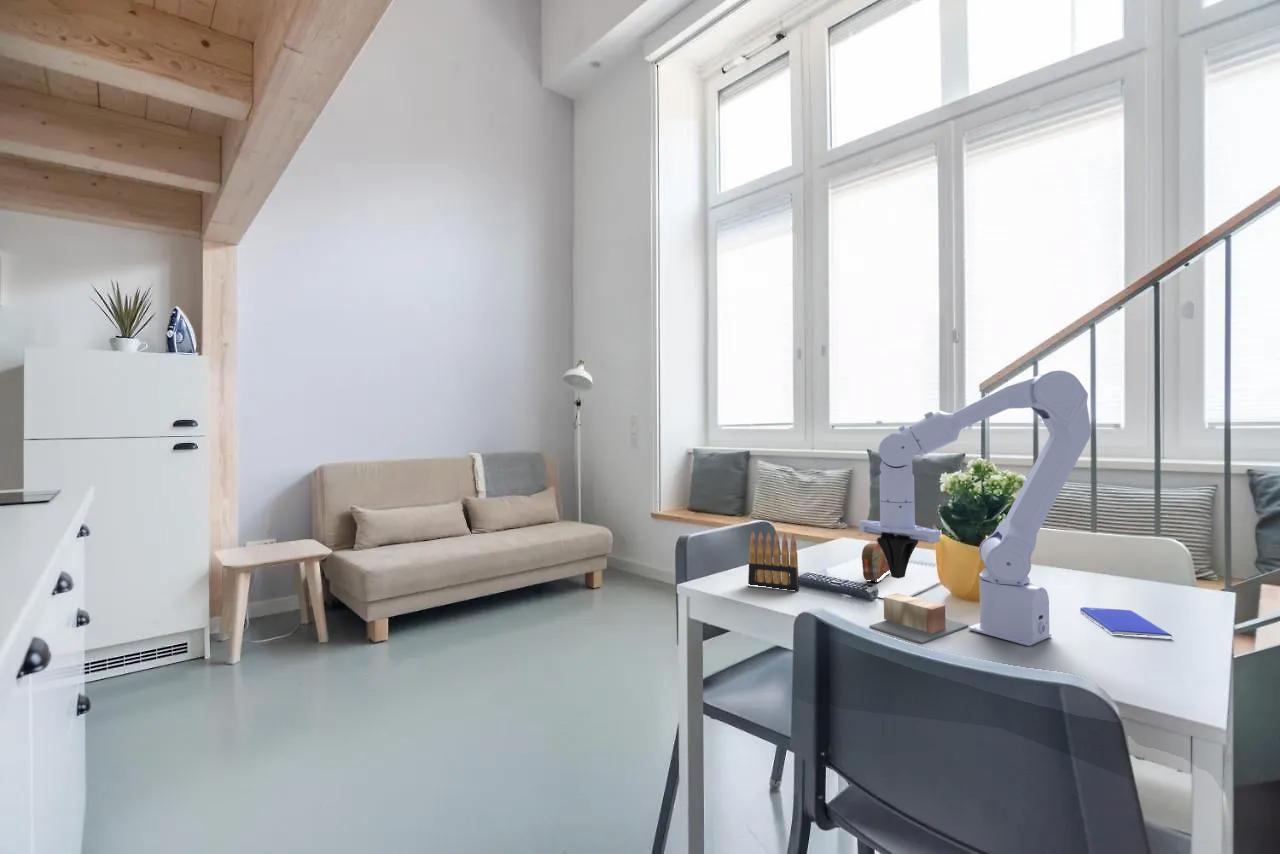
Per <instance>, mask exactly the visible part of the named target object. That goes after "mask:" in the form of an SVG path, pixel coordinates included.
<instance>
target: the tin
mask: <svg viewBox="0 0 1280 854" xmlns="http://www.w3.org/2000/svg"><path fill="white" fill-rule="evenodd" d="M861 561H862V562H861V564H862V574H863V578H864V580H865V579H866V580H871V581H876V582H875V583H877V579H879V578H880V577H881V576H882V575H883V574H884V573H886V572H887V571H889V570H890V569H889V565H888V562H887V559H886V557H885V554H884V552H883V550H882V548H881V547H880V545H879V544H878V542H877V538H876V539H874V540H872V541H870V542H869V543H867V544H865V545H864V547H863V548H862V552H861ZM866 580H865V581H866Z"/></svg>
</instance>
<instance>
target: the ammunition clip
mask: <svg viewBox="0 0 1280 854" xmlns="http://www.w3.org/2000/svg"><path fill="white" fill-rule="evenodd" d="M749 539H750V540H749V551H748V555H749V556H748V557H749V558H748V559H749V560H748V579H747V580H748V583H747V585H748V584H750V585H758V586H766V587H772V588H779V589H787V590H795V591H797V592H799V590H800V583H799V578H800V577H799V566H798V551H797V540H796V535H795V534H794V533H793V534H792V535H791V539H790V549H789V546H788V545H789V541H788V537H787V534H786V533H784V534H783V536H782V541H781V546H782V547H781V546H780V539H779V534H778V533H777V532H775V535H774V538H773V547H772V537H771V534H770V532H767V534H766V537H765V545H764V536H763V533H762V532H761V531H760V532H759V533H758V538H757V542H756V535H755V533H754V531H751V534H750V537H749ZM756 544H757V545H756ZM764 546H765V547H764ZM780 547H781V548H780ZM789 551H790V552H789ZM795 591H794V592H795Z"/></svg>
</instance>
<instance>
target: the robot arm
mask: <svg viewBox="0 0 1280 854" xmlns="http://www.w3.org/2000/svg"><path fill="white" fill-rule="evenodd" d="M1088 396H1089V394H1088V392H1087V390H1086V388H1085V387H1084V386H1083V385H1082V383H1081V381H1080V379H1078V377H1076V375H1074V374H1072V373H1071V372H1069V371H1065V370H1061V369H1060V370H1059V369H1055V370H1052V371H1047V372H1045V373H1044V374H1038V375H1036V376H1033V377H1032V378H1031V377H1030V378H1029V379H1026V380H1022V381H1019V382H1015V383H1012V384H1009V385H1006V386H1003V387H1001V388H999V389H998V390H996V391H993V392H992V393H990V394H989V393H988V394H987V395H985V396H984V397H982V398H979V399H978V400H976V401H974V402H972V403H970V404H968V405H967V406H964V407H961V408H960V409H958V410H956V411H954V412H952V413H949V412H948V413H947V412H945V411H941V410H938V411H937V412H934V413H933V411H928V412H927V413H924V418H922V419H920V420H918V421H916V422H914V423H912V424H910V425H908V426H906V427H905V426H904V425H902V426H900V427H898V431H899V432H900V433H898V432H895V433H894V432H893V433H890V434H889V435H886V436H885V437H884V438H883V439H882V440H881V441H880V443H879V446H878V455H879V457H880V459H881V460H882V461H880V464H879V471H880V474H879V520H870V519H869V520H868V519H865V520H859V522H858V524H859V525H858V527H859V532H862V533H863V532H868V533H873V534H881V535H880V537H877V538H876V539H877V542H878V544H879V545H880V547H881V548H882V550H883V552H884V554H885V557H886V559H887V562H888V565H889V569H890V577H891V578H894V579H903V578H905V576H906V572H907V568H908V564H909V561H910V559H911V556H912V554H913V552H914V550H915V548H916V547H917V545H918V544H919V541H924V542H928V543H931V544H936V543H940V541H941V535H940V534H941V533H940V532H941V531H940V530H939V529H932V528H929V527H923V526H920V525H916V515H915V514H916V513H915V512H916V507H915V506H916V505H915V502H916V501H915V476H914V474H913V461H914V459H915V457H916V456H920V457H924V456H925V455H927V454H929V453H932V452H935V451H937V450H939V449H940V448H943V447H945V446H947V445H949V444H951V443H953V442H956V441H957V440H958V438H959V436H960V435H959V434H960V432H961V430H963V429H965V428H967V427H969V426H971V425H975V424H977V423H979V422H981V421H984V420H985V419H988V418H989V417H992V416H995V415H997V414H999V413H1002V412H1004V411H1006V410H1009V409H1027V408H1029V409H1030V408H1031V410H1032V411H1034V412H1035V413H1036V414H1037V415H1038V416H1039V417H1040V418H1041V420H1042V422H1043V424H1044V425H1045V427H1046V429H1047V431H1048V433H1049V436H1048V438H1047V439H1046V441H1045V444H1044V446H1043V447H1042V449H1041V451H1040V453H1039V455H1038V457H1037V459H1036V460H1035V463H1034V464H1033V466H1032V468H1031V470H1030V472H1029V473H1028V475H1027V477H1026V479H1025V481H1024V483H1023V485H1022V486H1021V488H1020V490H1019V492H1018V494H1017V496H1016V498H1015V499H1014V502H1013V503H1012V505H1011V507H1010V509H1009V511H1008V513H1007V514H1006V517H1005V518H1004V519H1003V520H1002V521H1001V522H1000V523H999V524H998V525H997V527H996V528H995V531H994V532H992V534H991V535H989V536H988V537H985V539H983V540H982V541H981V543H980V544H979V547H978V555H979V558H980V560H981V561H982V563H983V564H984V565H985V567H984V568H983V570H982V571H981V572H979V622H977V623H975V624H973V625H970V626H968V629H969V630H970V631H972V632H976V633H980V634H983V635H988V636H990V637H994V638H998V639H1002V640H1004V641H1009V642H1012V643H1016V644H1020V645H1024V646H1027V647H1032V646H1033V645H1036V644H1038V643H1040V642H1041V641H1044V640H1045V639H1046V640H1047V639H1049V638H1050V637H1052V633H1051V632H1050V600H1049V597H1050V596H1049V594H1048V592H1047V589H1045V588H1044V587H1042V586H1039V585H1036V584H1033V583H1031V581H1030V579H1031V578H1030V577H1029V574H1030V572H1031V571H1032V570H1031V569H1032V560H1031V559H1032V555H1033V553H1034V551H1035V549H1036V545H1037V537H1038V533H1039V531H1040V529H1041V527H1042V525H1043V523H1044V522H1045V520H1046V518H1047V516H1048V514H1049V512H1050V511H1051V509H1052V507H1053V506H1054V504H1055V502H1056V500H1057V498H1058V497H1059V495H1060V492H1061V491H1062V489H1063V488H1064V486H1065V484H1066V482H1067V480H1068V478H1069V477H1070V475H1071V473H1072V471H1073V470H1074V467H1075V465H1076V464H1077V462H1078V460H1079V458H1080V457H1081V456H1082V453H1083V451H1084V450H1085V448H1086V445H1087V443H1088V442H1089V441H1090V439H1091V435H1092V427H1091V422H1090V420H1091V419H1090V415H1089V407H1088Z"/></svg>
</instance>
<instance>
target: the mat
mask: <svg viewBox="0 0 1280 854" xmlns="http://www.w3.org/2000/svg"><path fill="white" fill-rule="evenodd" d="M945 622H946V629H944V630H941V631H938V632H935V633H933V634H932V633H929V632H925V631H922V630H919V629H915V628H912V627H908V626H905V625H902V624H898V623H895V622H892V621H888V620H883V621H880V622H876V623H873V624H871V625H869V629H872V630H873V629H874V630H876V631H880V632H883V633H886V634H890V635H891V636H892V635H893V636H896V637H899V638H902V639H905V640H908V641H911V642H913V643H918V644H921V645H923V644H925V643H928V642H931V641H933V640H936V639H938V638H941V637H945V636H946V635H949V634H952V633H955V632H958V631H960V630H963V629H967V628H969V624H967V623H962V622H958V621H955V620H951V619H949V618H945Z"/></svg>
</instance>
